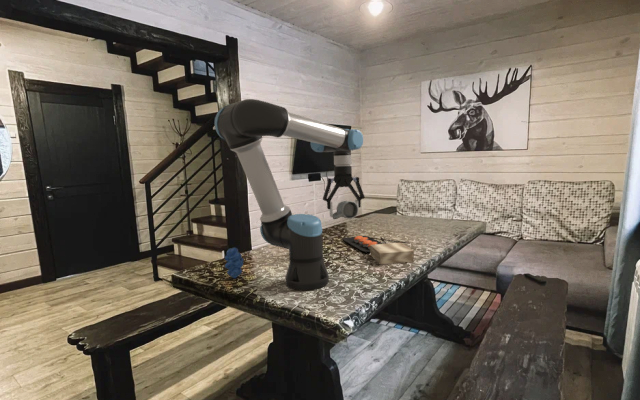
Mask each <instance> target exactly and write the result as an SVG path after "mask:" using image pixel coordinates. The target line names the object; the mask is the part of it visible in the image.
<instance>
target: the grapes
mask: <svg viewBox="0 0 640 400" xmlns="http://www.w3.org/2000/svg"><path fill="white" fill-rule="evenodd" d="M224 260H225V261H226V263H225V265H224V268H225V269H227V272H226V273H227V275H228V276H229V277H231V278H232V279H234V278H235V279H237V278H238V277H239V276H240V275H241V274H242V272H243V269H242V267H243V266H244V263H245V260H244V258H243V257H242V253H241V252H239V249H238V248H237V247H232V248H228V249H227V251H226V255H225V256H224Z"/></svg>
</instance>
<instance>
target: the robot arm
mask: <svg viewBox="0 0 640 400" xmlns="http://www.w3.org/2000/svg"><path fill="white" fill-rule="evenodd" d="M214 129H215V131H216V133H217V135H218V136H219V137H220V138H221V139H223V140H224V141H226V143H227V146H228V148H229V150H230V151H232V152H234V153H236V156H237V157H238V159H239V162H240V164H241V168H242V170H243V172H244V174H245V177H246V179H247V181H248V183H249V186H250V188H251V191H252V193H253V195H254V197H255V200H256V202H257V205H258V207H259V209H260V212H261V216H260V217H259V220H260V227H259V231H260V234H261V237H262V239H263V240H264V241H265V242H266V243H268V244H270V245H271V246H274V247H279V248H283V249H286V250H289V251H288V253H289V263H288V267H287V271H286V275H285V285H286V286H287V287H288V288H290V289H291V290H297V291H311V290H318V289H321V288H324V287H326V286H327V285H328V284H329V282H330V277H329V276H330V275H329V271H328V270H327V266H326V264H325V262H324V254H323V253H324V251H323V250H324V249H323V247H324V246H323V226H322V220H321V219H320V217H318V216H317V215H313V214H305V213H295V214H293V213H292V211H291V208H290V206H288V205H285V204H284V201H283V199H282V196H281V194H280V191H279V188H278V186H277V184H276V181H275V179H274V175H273V173H272V170H271V168H270V166H269V162H268V161H267V157H266V155H265V153H264V150H263V147H262V145H261V144H262V143H261V142H262V141H263V137H274V138H281V137H282V136H284V137H288V138H292V139H295V140H296V139H297V140H302V141H305V142H310V149H312V151H313V152H316V153H331V152H333V165H334V167H333V169H334V170H333V171H334V172H333V174H334V175H333V177H332V178H331V177H330V178H329V177H328V178H327V180H326V181H327V183H326V187H325V190H324V194H323V196H322V200H323V201H324V202H326V209H327V210H329V217H330V218H333V214H334V213H333V201H332V200H333V198H334V196H335V195H336V192H337V191H338V189H340V188H349V189H350V191H351V193H352V194H353V196H354V197H355V200H354V202H355V203H356V204H357V206H358V213H357V215H356V216H359V215H360V213H359V212H360V210H359V208H361V207H362V206H361V205H362V204H361V200H364V199H365V198H366V196H365V194H364V191H363V189H362V186H361V183H360V177H359V176H354V177H353V175H352V174H353V173H352V172H353V171H352V166H351V165H352V151H355V150H359V149H361V148H362V146H363V144H364V136H363V133H362V131H360V130H359V129H349V128H341V127H337V126H335V125H332V124H330V123H325V122H322V121H319V120H315V119H312V118H310V117H309V118H308V117H307V116H306V117H305V116H302V115H299V114H295V113H292V112H289V111H288V110H287V108H286V107H283V106H281V105H278V104H277V105H276V104H275V103H271V102H267V101H264V100H260V99H253V98H247V99H243V100H240V101H238V102H237V101H236V102H234V103H230V104H227V105H225V106H223V107H221V108H220V109H218V111H217V113H216V115H215V117H214ZM333 182H334V183H335V184H334V186H333V189H332V190H331V191H330V189H331V186H332V184H333ZM352 182H354V183H355V186H356V189H357V190H355V188H354V186H353V185H352ZM357 191H358V192H357ZM329 192H330V194H329Z"/></svg>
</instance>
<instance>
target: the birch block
mask: <svg viewBox="0 0 640 400" xmlns="http://www.w3.org/2000/svg"><path fill="white" fill-rule="evenodd" d="M414 252H415V251H414V250H413V249H412V248H410V247H409V246H407V245H405V243H399V242H390V243H389V242H388V243H386V244H385V243H384V244H375V245H370V252H369V253H370V257H372V258H373V259H374V260H375V261H376V263H378V264H379V265H380V266H381V265H394V264H393V263H395V264H406V263H405V262H407V263H414V262H415V257H414V256H415V253H414Z"/></svg>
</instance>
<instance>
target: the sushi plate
mask: <svg viewBox="0 0 640 400" xmlns="http://www.w3.org/2000/svg"><path fill="white" fill-rule="evenodd" d="M380 240H381V241H382V242H381V241H380ZM342 241H343V242H345V243H347V244H349V245H350V246H352V247H354V248H355V249H357V250H359V251H361V252H364V253H370V245H375V244H387V242H392V243H402V244H409V242H408V241H407V242H406V241H399V240H391V239H385V238H383V237H382V236H380V238H377V237H371V236H367V235H357V236H350V237H349V236H348V237H344V238H343V239H342ZM386 241H387V242H386Z"/></svg>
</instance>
